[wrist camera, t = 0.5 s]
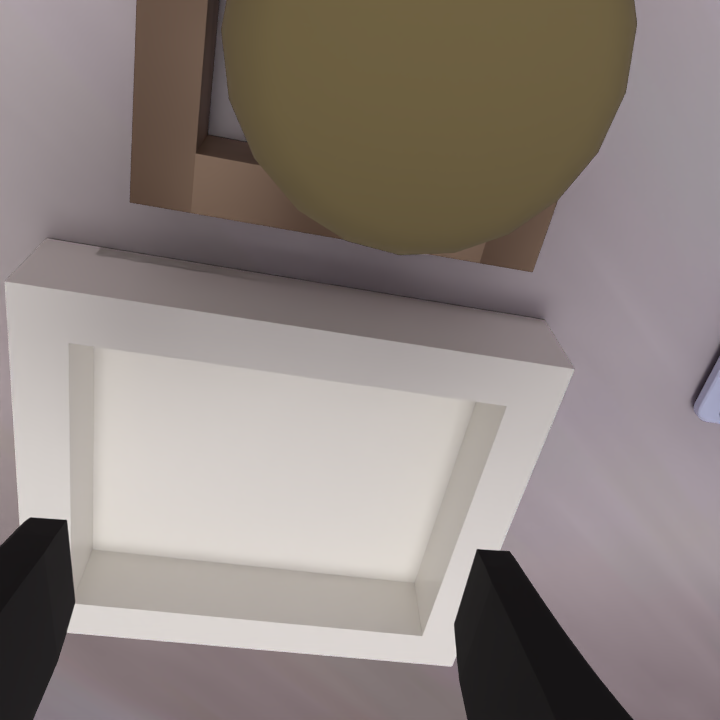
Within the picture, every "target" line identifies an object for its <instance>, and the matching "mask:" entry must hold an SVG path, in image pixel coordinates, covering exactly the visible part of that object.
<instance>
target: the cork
mask: <svg viewBox="0 0 720 720" xmlns="http://www.w3.org/2000/svg"><path fill="white" fill-rule="evenodd" d="M636 27H637V20H636V12H635V4H634V0H226V6H225V11H224V17H223V22H222V28H221V33H222V42H223V51H224V60H225V68H226V77H227V86H228V95H229V100H230V103H231V105H232V107H233V110H234V112H235V114H236V117H237V119H238V121H239V124H240V126H241V128H242V131H243V133H244V135H245V138H246V140H247V142H248V145H249V147H250V149H251V152H252V154H253V156H254V159H255V160H256V161H257V162H258V163H259V165H260V166H261V167H262V168H263V169H264V171H265V172H266V173H267V174H268V175H269V176H270V178H271V179H272V180H273V181H274V182H275V184H276V185H277V186H278V187H279V188H280V190H281V191H282V192H283V193H284V194H285V195H286V197H287V198H288V199H289V200H290V201H291V203H292V204H293V205H294V206H295V207H296V208H297V210H298V211H300V212H302V213H303V214H305V215H306V216H308V217H309V218H311V219H313V220H314V221H316V222H317V223H319V224H320V225H322V226H324V227H325V228H327V229H328V230H330V231H331V232H333V233H335V234H336V235H338V236H339V237H341V238H342V239H344V240H346V241H349V242H352V243H356V244H360V245H364V246H367V247H371V248H375V249H379V250H382V251H386V252H390V253H394V254H397V255H414V254H440V253H456V252H459V251H462V250H465V249H468V248H471V247H474V246H477V245H480V244H482V243H485V242H488V241H491V240H494V239H497V238H500V237H503V236H506V235H509V234H510V233H512V232H513V231H515V230H516V229H517V228H519V227H520V226H522V225H523V224H525V223H526V222H528V221H529V220H530V219H532V218H533V217H535V216H536V215H538V214H539V213H541V212H542V211H543V210H545V209H546V208H548V207H549V206H551V205H552V204H554V203H555V202H556V201H558V200H559V198H560V197H561V196H562V195H563V194H564V192H565V191H566V190H567V189H568V188H569V186H570V185H571V184H572V183H573V182H574V180H575V179H576V178H577V177H578V176H579V175H580V173H581V172H582V171H583V170H584V169H585V167H586V166H587V165H588V164H589V163H590V161H591V160H592V159H593V158H594V157H595V155H596V154H597V153H598V151H599V149H600V147H601V145H602V143H603V141H604V138H605V136H606V134H607V132H608V130H609V128H610V125H611V123H612V121H613V119H614V117H615V115H616V112H617V110H618V108H619V106H620V104H621V102H622V99H623V97H624V95H625V93H626V88H627V82H628V76H629V70H630V64H631V58H632V51H633V45H634V39H635V33H636Z"/></svg>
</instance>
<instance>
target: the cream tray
mask: <svg viewBox="0 0 720 720" xmlns="http://www.w3.org/2000/svg"><path fill="white" fill-rule="evenodd" d="M5 297H6V313H7V329H8V345H9V361H10V377H11V394H12V410H13V426H14V442H15V458H16V474H17V490H18V507H19V523H20V525H21V524H22V523H23V522H24V521H26V520H27V519H29V518H30V517H34V518H48V519H62V520H67V524H68V534H69V543H70V553H71V563H72V573H73V582H74V592H75V605H74V609H73V612H72V616H71V619H70V623H69V626H68V630H67V633H76V634H87V635H99V636H110V637H121V638H133V639H144V640H156V641H167V642H178V643H190V644H201V645H213V646H224V647H235V648H247V649H258V650H269V651H281V652H292V653H304V654H315V655H326V656H338V657H349V658H361V659H372V660H383V661H395V662H406V663H417V664H429V665H440V666H452V665H453V663H454V660H455V658H456V655H457V654H456V643H455V632H454V622H455V619H456V616H457V612H458V609H459V606H460V602H461V599H462V596H463V593H464V589H465V586H466V583H467V580H468V576H469V573H470V570H471V566H472V563H473V560H474V557H475V553H476V550H477V549H484V550H498V551H500V549H501V547H502V544H503V542H504V539H505V537H506V534H507V532H508V530H509V527H510V525H511V522H512V520H513V518H514V515H515V513H516V510H517V508H518V505H519V503H520V501H521V498H522V496H523V493H524V491H525V489H526V486H527V484H528V481H529V479H530V476H531V474H532V472H533V469H534V467H535V464H536V462H537V459H538V457H539V455H540V452H541V450H542V447H543V445H544V443H545V440H546V438H547V435H548V433H549V430H550V428H551V426H552V423H553V421H554V418H555V416H556V414H557V411H558V409H559V406H560V404H561V401H562V399H563V397H564V394H565V392H566V389H567V387H568V385H569V382H570V380H571V377H572V375H573V372H574V370H575V369H574V367H573V365H572V364H571V362H570V361H569V359H568V357H567V356H566V354H565V352H564V351H563V349H562V347H561V346H560V344H559V342H558V341H557V339H556V338H555V336H554V334H553V333H552V331H551V329H550V328H549V326H548V324H547V323H546V321H545V320H543V319H537V318H531V317H525V316H519V315H512V314H506V313H500V312H494V311H488V310H482V309H476V308H470V307H464V306H457V305H451V304H445V303H439V302H433V301H427V300H421V299H415V298H409V297H403V296H396V295H390V294H384V293H378V292H372V291H366V290H360V289H354V288H348V287H341V286H335V285H329V284H323V283H317V282H311V281H305V280H299V279H293V278H287V277H280V276H274V275H268V274H262V273H256V272H250V271H244V270H238V269H232V268H225V267H219V266H213V265H207V264H201V263H195V262H189V261H183V260H177V259H171V258H164V257H158V256H152V255H146V254H140V253H134V252H128V251H122V250H116V249H109V248H103V247H97V246H91V245H85V244H79V243H73V242H67V241H61V240H55V239H48V238H46V239H45V240H44V241H43V242H42V243H41V244H40V245H39V247H38V248H37V249H36V250H35V251H34V252H33V253H32V254H31V255H30V256H29V257H28V258H27V259H26V260H25V261H24V262H23V263H22V264H21V265H20V266H19V267H18V268H17V269H16V270H15V271H14V272H13V273H12V274H11V275H10V276H9V277H8V278H7V279H6V280H5Z"/></svg>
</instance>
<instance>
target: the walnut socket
mask: <svg viewBox="0 0 720 720" xmlns="http://www.w3.org/2000/svg"><path fill="white" fill-rule="evenodd" d="M218 10H219V0H137V5H136V34H135V64H134V93H133V122H132V151H131V181H130V203H136V204H142V205H148V206H153V207H159V208H165V209H171V210H177V211H182V212H188V213H194V214H200V215H205V216H211V217H217V218H223V219H228V220H234V221H240V222H246V223H251V224H257V225H263V226H269V227H275V228H280V229H286V230H292V231H298V232H303V233H309V234H315V235H321V236H326V237H332V238H338V239H342V238H341V237H339V236H338V235H336V234H335V233H333V232H331V231H330V230H328V229H327V228H325V227H324V226H322V225H320V224H319V223H317V222H316V221H314V220H313V219H311V218H309V217H308V216H306V215H305V214H303V213H302V212H300V211H298V210H297V208H296V207H295V206H294V205H293V204H292V203H291V201H290V200H289V199H288V198H287V197H286V195H285V194H284V193H283V192H282V191H281V190H280V188H279V187H278V186H277V185H276V184H275V182H274V181H273V180H272V179H271V178H270V176H269V175H268V174H267V173H266V172H265V171H264V169H263V168H262V167H261V166H260V165H259V163H258V162H257V161H256V160H255V159H254V156H253V154H252V152H251V149H250V147H249V145H248V142H242V141H237V140H232V139H227V138H221V137H216V136H211V135H208V125H209V113H210V102H211V90H212V79H213V67H214V56H215V45H216V33H217V22H218ZM556 204H557V201H556V202H555V203H554V204H552V205H551V206H549V207H548V208H546V209H545V210H543V211H542V212H541V213H539V214H538V215H536V216H535V217H533V218H532V219H530V220H529V221H528V222H526V223H525V224H523V225H522V226H520V227H519V228H517V229H516V230H515V231H513V232H512V233H510V234H509V235H506V236H503V237H500V238H497V239H494V240H491V241H488V242H485V243H482V244H480V245H477V246H474V247H471V248H468V249H465V250H462V251H459V252H456V253H440V254H430V255H436V256H442V257H447V258H453V259H459V260H465V261H470V262H476V263H482V264H488V265H494V266H499V267H505V268H511V269H517V270H522V271H528V272H533V270H534V267H535V264H536V261H537V258H538V255H539V253H540V250H541V247H542V244H543V241H544V238H545V235H546V233H547V230H548V227H549V224H550V221H551V218H552V215H553V213H554V210H555V207H556Z"/></svg>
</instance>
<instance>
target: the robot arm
mask: <svg viewBox="0 0 720 720" xmlns="http://www.w3.org/2000/svg"><path fill="white" fill-rule="evenodd" d="M694 412H695V413H696V414H697V416H698V417H699V418H700V419H701V420H702V421H705V422H710V423H717V424H720V357H719V358H718V360H717V362H716V364H715V366H714V368H713V370H712V372H711V374H710V375H709V377H708V379H707V381H706V383H705V385H704V387H703V389H702V391H701V392H700V394H699V396H698V398H697V400H696V402H695V405H694ZM74 605H75V592H74V582H73V573H72V563H71V553H70V543H69V534H68V524H67V520H62V519H48V518H34V517H30V518H29V519H27V520H26V521H24V522H23V523H22V524H21V525H20V526H19V527H18V528H17V529H16V530H15V532H14V533H13V534H12V535H11V536H10V537H9V538H8V539H7V540H6V541H5V542H4V543H3V544H2V545H1V546H0V720H33V718H34V716H35V714H36V711H37V709H38V707H39V704H40V702H41V700H42V697H43V695H44V693H45V690H46V688H47V685H48V683H49V681H50V678H51V676H52V674H53V671H54V669H55V666H56V664H57V662H58V659H59V656H60V652H61V649H62V646H63V643H64V640H65V636H66V633H67V630H68V626H69V623H70V619H71V616H72V612H73V609H74ZM454 632H455V643H456V654H457V664H458V673H459V681H460V686H461V691H462V696H463V701H464V705H465V710H466V715H467V719H468V720H633V719H632V717H631V716H630V715H629V714H628V713H627V712H626V710H625V709H624V708H623V707H622V706H621V704H620V703H619V702H618V701H617V699H616V698H615V697H614V696H613V695H612V693H611V692H610V691H609V690H608V688H607V687H606V686H605V685H604V683H603V682H602V681H601V680H600V678H599V677H598V676H597V674H596V673H595V672H594V671H593V669H592V668H591V667H590V665H589V664H588V663H587V661H586V660H585V659H584V657H583V656H582V655H581V653H580V652H579V651H578V649H577V648H576V646H575V645H574V644H573V642H572V641H571V640H570V638H569V637H568V636H567V634H566V633H565V632H564V630H563V629H562V627H561V626H560V624H559V623H558V622H557V620H556V619H555V617H554V616H553V614H552V613H551V612H550V610H549V609H548V607H547V606H546V604H545V603H544V601H543V600H542V598H541V597H540V595H539V594H538V593H537V591H536V590H535V588H534V587H533V585H532V584H531V582H530V581H529V579H528V578H527V576H526V575H525V573H524V572H523V570H522V568H521V567H520V565H519V564H518V562H517V561H516V559H515V558H514V556H513V555H512V554H511V553H510V551H498V550H484V549H477V550H476V553H475V557H474V560H473V563H472V566H471V570H470V573H469V576H468V580H467V583H466V586H465V589H464V593H463V596H462V599H461V602H460V606H459V609H458V612H457V616H456V619H455V622H454Z"/></svg>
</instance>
